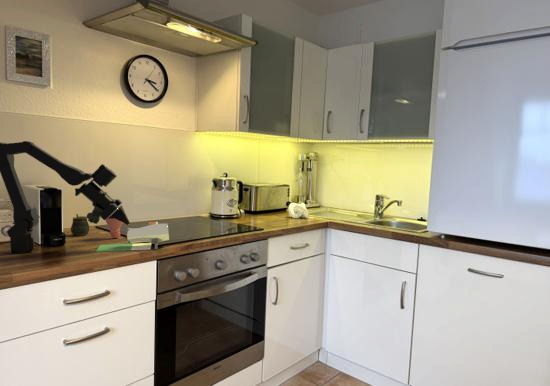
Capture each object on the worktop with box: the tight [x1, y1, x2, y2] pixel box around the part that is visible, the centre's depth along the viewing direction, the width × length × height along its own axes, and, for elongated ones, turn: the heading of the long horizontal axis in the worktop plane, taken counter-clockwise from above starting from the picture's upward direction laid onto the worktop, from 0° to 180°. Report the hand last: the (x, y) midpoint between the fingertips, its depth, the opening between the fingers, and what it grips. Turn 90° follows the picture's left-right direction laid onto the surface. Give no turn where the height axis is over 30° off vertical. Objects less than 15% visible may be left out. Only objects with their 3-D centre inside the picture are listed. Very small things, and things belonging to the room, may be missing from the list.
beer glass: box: [126, 223, 170, 244], centre depth 149 cm, size 7×7×15 cm
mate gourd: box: [70, 213, 90, 237], centre depth 167 cm, size 7×8×10 cm
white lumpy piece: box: [288, 202, 309, 219], centre depth 234 cm, size 11×12×9 cm
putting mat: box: [95, 221, 159, 253], centre depth 147 cm, size 22×10×9 cm, turn 106°
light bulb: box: [105, 216, 124, 239], centre depth 163 cm, size 7×7×12 cm
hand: (128, 224), depth 147 cm, fingers closed
